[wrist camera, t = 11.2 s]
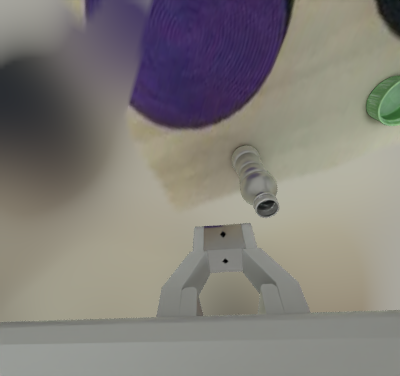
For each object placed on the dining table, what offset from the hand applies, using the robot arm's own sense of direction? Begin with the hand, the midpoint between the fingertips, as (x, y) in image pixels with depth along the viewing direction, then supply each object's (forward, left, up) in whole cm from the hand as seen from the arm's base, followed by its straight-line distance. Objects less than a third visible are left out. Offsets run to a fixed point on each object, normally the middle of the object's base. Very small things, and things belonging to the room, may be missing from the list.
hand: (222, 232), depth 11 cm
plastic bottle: (-7, +12, -36) cm, 39 cm away
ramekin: (-36, +3, -36) cm, 52 cm away
